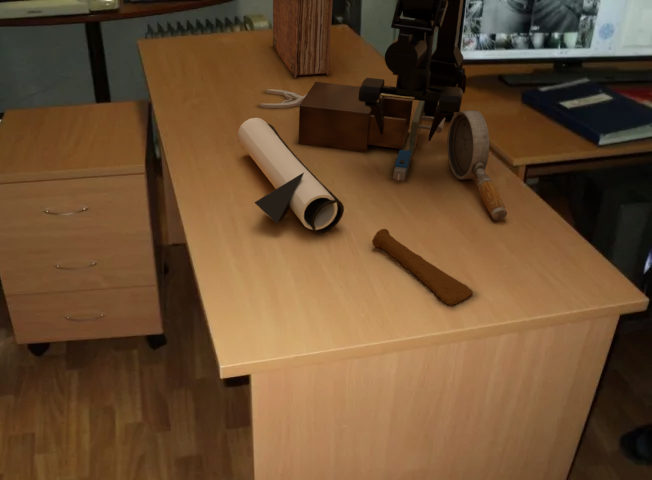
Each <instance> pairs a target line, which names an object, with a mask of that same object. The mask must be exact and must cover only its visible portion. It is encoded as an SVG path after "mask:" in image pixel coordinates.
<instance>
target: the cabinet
mask: <svg viewBox="0 0 652 480" xmlns="http://www.w3.org/2000/svg"><path fill="white" fill-rule="evenodd" d="M359 89H360V86H358V85H348V84H339V83H331V82H322V81H315V82H314V83H313V84H312V86H311V87H310V89H309V91H308V92H307V93H306V94H307V95H306V96H305V98H304V99H303V101H302V102H301V104H300V105H299V107H298V108H299V109H298V110H299V111H298V112H299V113H298V115H299V116H298V144H299V145H300V144H301V145H308V146H313V147H314V146H315V147H322V148H328V149H329V148H330V149H338V150H346V151H353V152H361V153H367V152H368V149H369V147H370V145H368V132H369V121H370V114H371V112H372V110H371V108H370V107H369V106H365V102H361V101H359V100H358V98H359Z"/></svg>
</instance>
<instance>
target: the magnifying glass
mask: <svg viewBox="0 0 652 480" xmlns="http://www.w3.org/2000/svg"><path fill="white" fill-rule="evenodd" d="M449 122H450V123H449V126H448V131H447V140H446V150H447V152H446V153H447V159H448V163H449V164H448V165H449V167H450V170H451V172H452V174H453V175H454V177H455V178H456V179H458V180H460V181H461V180H473V179H476V182H477V185H478V188H479V192H480V196H481V198H482V200H483V202H484V205H485V207H486V209H487V211H488V212H489V214H490V216H491V218H492V219H493V220H494V221H502V220H503V219H505V218H506V217H507V215H508V211H507V210H506V206H505V204H504V201H503V198H502V196H501V195H500V193H499V190H498V188H497V187H496V185H495V184H494V183H493V180H492V179H491V178H490V176H489V175H488V174H487V173H486V172H485V170H486V168H487V166H488V161H489V155H490V135H489V134H490V133H489V128H488V124H487V121H486V119H485V117H484V115H483V114H482V113H481V111H479V110H473V109H472V110H460V112H456V113H454V116H453V118H452V120H451V121H449Z"/></svg>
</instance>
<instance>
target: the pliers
mask: <svg viewBox="0 0 652 480" xmlns="http://www.w3.org/2000/svg"><path fill="white" fill-rule="evenodd" d="M265 93H266V94H271V95H272V94H273V95H280V96H283V97H284V98H286V99H285V100H283V101H281V102H278V103H265V102H264V103H263V102H261V103H260V104H259V107H260V108H263V109H265V108H266V109H288V108H295V107H298V106H300V104H301V102H302V101H303V99H304V98H305V96H306V95H307V93H306V94H304V95H300V94H298V93H297V92H293V91H289V90H284V89H273V88H272V89H269V88H268V89H266V90H265Z"/></svg>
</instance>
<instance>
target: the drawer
mask: <svg viewBox="0 0 652 480" xmlns="http://www.w3.org/2000/svg"><path fill="white" fill-rule="evenodd" d="M417 102H418V103H417V105H416V108H415V112H414V114H413V117H412V111H413V104H414V100H411V99H402V98H394V97H385V99H384V131H383V135H380V132H379V128H378V125H377V122H376V119H375V117H374V115H373V113H372V112H371V114H370V121H369V132H368V145H369V146H377V147H384V148H391V149H399V150H403V148H404V145H405V142H406V139H407V137H408V133H409V130H410V134H409V140H408V141H409V143H408V150H407V151H412V153H411V154H415V151H416V147H417V144H418V141H419V138H420V135H421V131H422V130H429V131H430V129H431V126H432V125H425V124H424V125H423V120H426V121H433V119H434V117H431V116H424V113H423V112H424V105H425V101H420V100H418V101H417ZM411 119H412V120H411ZM445 122H446V121H445V118H444V119H443V120H442V122H441V123H440V124H439V126H438V127H437V129H436V131H435V133H437V134H441V133H443V130H444V126H445Z"/></svg>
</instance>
